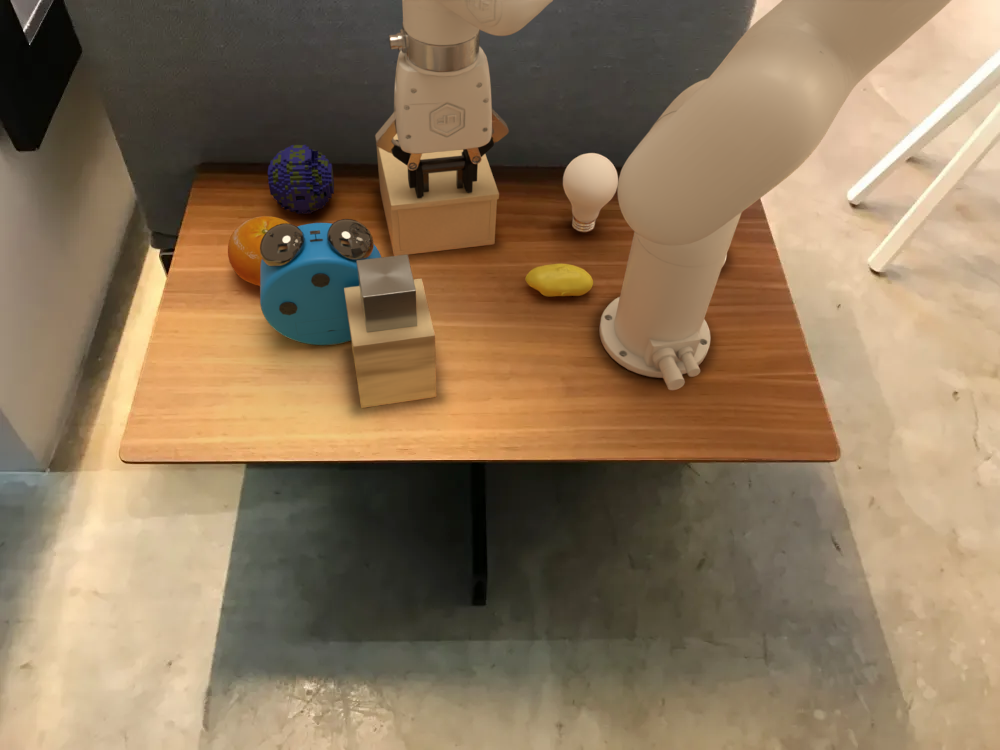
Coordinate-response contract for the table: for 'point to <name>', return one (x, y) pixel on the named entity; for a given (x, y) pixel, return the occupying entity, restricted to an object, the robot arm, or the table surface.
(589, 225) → the light bulb
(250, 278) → the fruit
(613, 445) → the table surface
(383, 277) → the steel block
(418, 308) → the block
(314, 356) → the table surface
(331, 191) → the ball
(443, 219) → the open storage bin
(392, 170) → the wooden box lid
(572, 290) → the yellow potato
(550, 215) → the table surface
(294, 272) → the alarm clock
